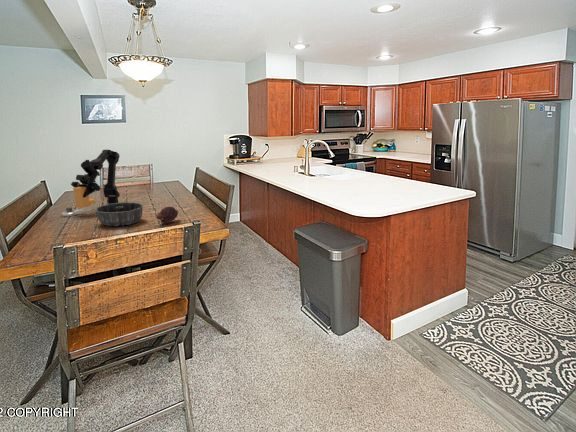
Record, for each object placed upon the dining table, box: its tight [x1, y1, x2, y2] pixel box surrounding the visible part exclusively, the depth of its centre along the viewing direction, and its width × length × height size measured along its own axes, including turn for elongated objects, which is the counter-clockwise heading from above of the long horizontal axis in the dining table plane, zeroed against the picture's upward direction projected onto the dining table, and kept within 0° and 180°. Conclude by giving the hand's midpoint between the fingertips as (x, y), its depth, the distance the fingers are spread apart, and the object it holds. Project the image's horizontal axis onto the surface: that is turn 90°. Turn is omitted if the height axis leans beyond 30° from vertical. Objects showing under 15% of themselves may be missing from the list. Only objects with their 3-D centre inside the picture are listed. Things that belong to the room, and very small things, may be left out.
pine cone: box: [155, 206, 179, 225], centre depth 226 cm, size 18×10×10 cm, turn 157°
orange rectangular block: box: [72, 187, 91, 209], centre depth 241 cm, size 6×6×12 cm
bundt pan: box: [94, 201, 144, 227], centre depth 226 cm, size 26×26×10 cm
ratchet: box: [61, 206, 94, 218], centre depth 253 cm, size 22×9×5 cm, turn 163°
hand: (79, 197), depth 240 cm, fingers closed on orange rectangular block, 6 cm apart
